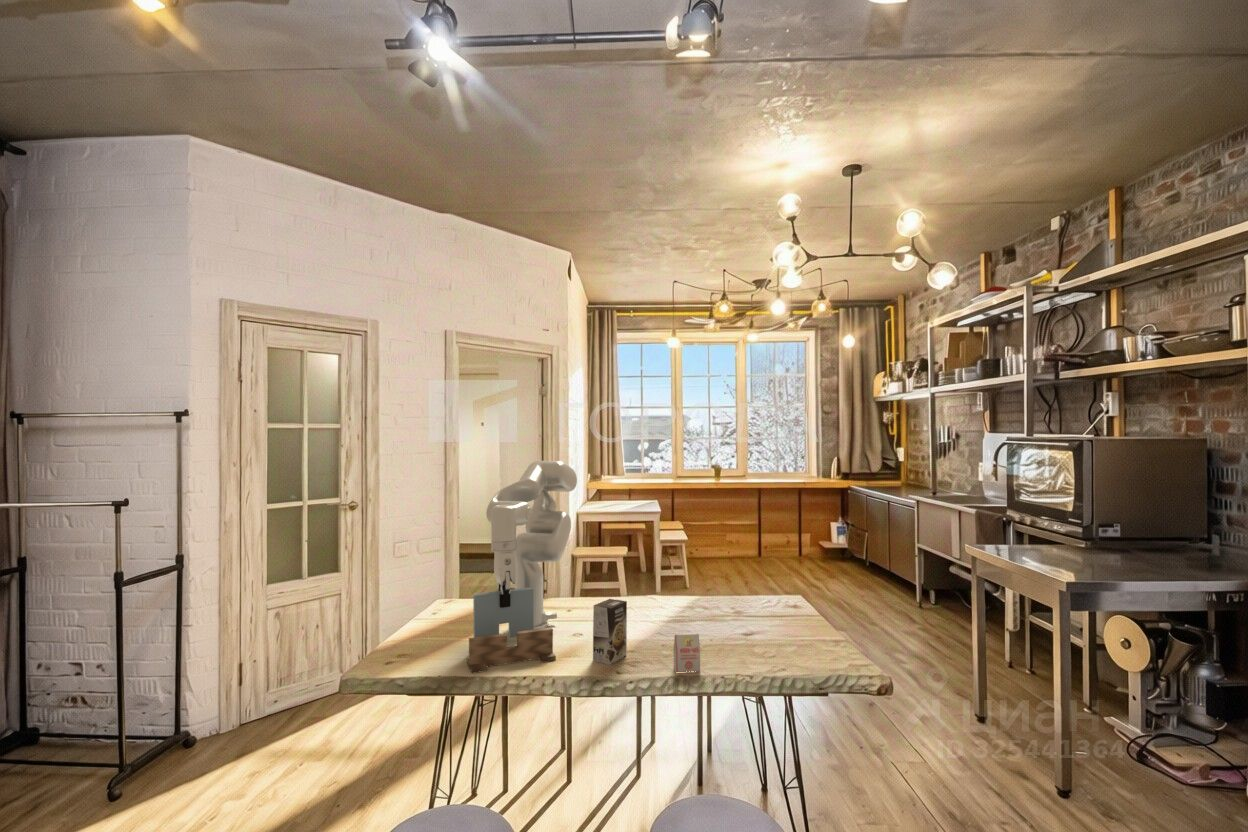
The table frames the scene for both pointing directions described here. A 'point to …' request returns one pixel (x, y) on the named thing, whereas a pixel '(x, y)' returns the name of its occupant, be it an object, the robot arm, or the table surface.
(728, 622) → the table surface
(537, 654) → the slotted board
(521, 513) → the robot arm
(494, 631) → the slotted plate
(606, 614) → the coffee box
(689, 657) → the white carton
